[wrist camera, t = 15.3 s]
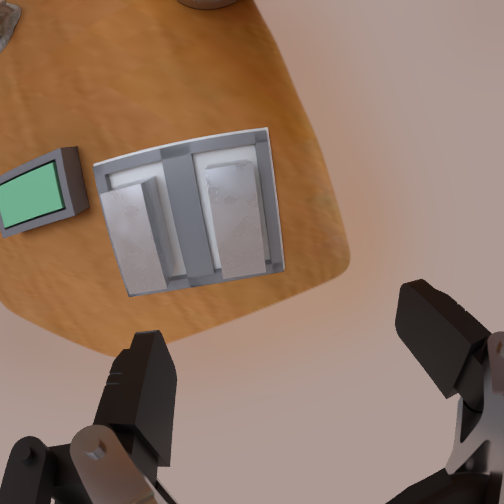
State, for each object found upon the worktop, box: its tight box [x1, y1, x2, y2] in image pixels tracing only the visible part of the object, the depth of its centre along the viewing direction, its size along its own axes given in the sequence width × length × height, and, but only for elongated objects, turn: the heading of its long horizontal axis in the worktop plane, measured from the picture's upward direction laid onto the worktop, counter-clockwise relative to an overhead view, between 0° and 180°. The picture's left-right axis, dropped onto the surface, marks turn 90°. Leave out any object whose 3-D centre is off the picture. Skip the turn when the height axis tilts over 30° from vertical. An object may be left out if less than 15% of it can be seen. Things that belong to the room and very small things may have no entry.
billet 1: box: [100, 176, 175, 294], centre depth 27 cm, size 10×4×6 cm, turn 8°
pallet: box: [93, 127, 285, 297], centre depth 30 cm, size 16×19×2 cm
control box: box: [0, 146, 90, 238], centre depth 26 cm, size 7×12×4 cm, turn 98°
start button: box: [0, 162, 65, 228], centre depth 24 cm, size 5×10×2 cm, turn 98°
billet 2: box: [205, 159, 266, 279], centre depth 27 cm, size 4×10×6 cm, turn 7°
